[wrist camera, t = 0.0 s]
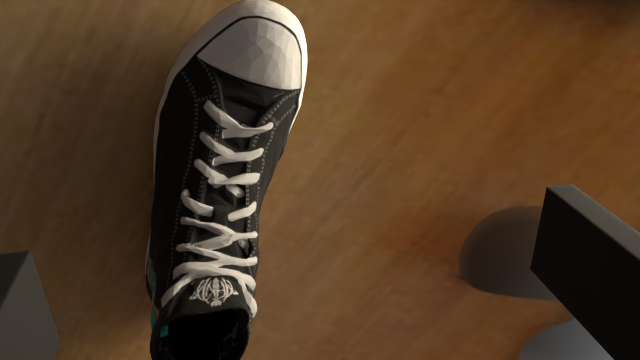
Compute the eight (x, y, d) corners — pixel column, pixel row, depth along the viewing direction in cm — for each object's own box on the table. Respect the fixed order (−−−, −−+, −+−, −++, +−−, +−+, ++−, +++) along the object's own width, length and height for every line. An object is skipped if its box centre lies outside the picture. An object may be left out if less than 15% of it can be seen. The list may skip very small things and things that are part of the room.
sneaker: (339, 28, 32) (407, 84, 21) (212, 304, 39) (215, 447, 29) (206, -34, 29) (208, -5, 18) (95, 278, 36) (51, 426, 26)
